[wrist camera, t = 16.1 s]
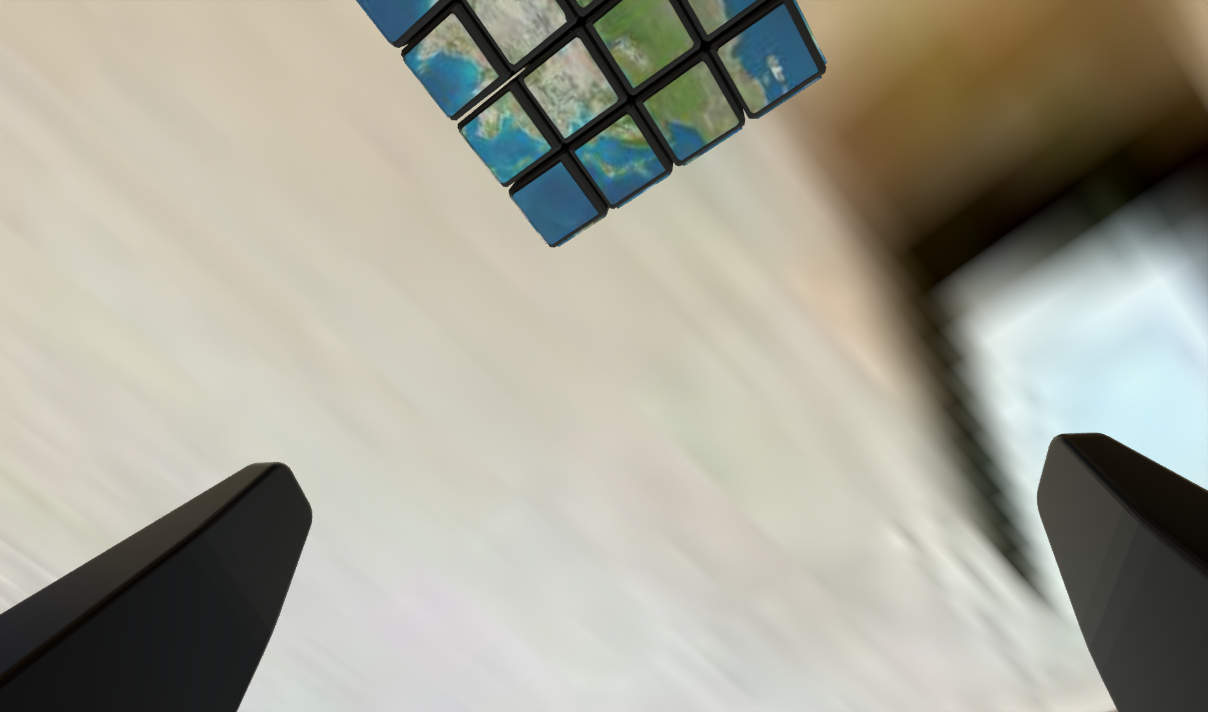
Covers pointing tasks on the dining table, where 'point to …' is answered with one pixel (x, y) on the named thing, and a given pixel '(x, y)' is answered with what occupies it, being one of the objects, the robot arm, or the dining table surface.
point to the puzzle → (598, 88)
